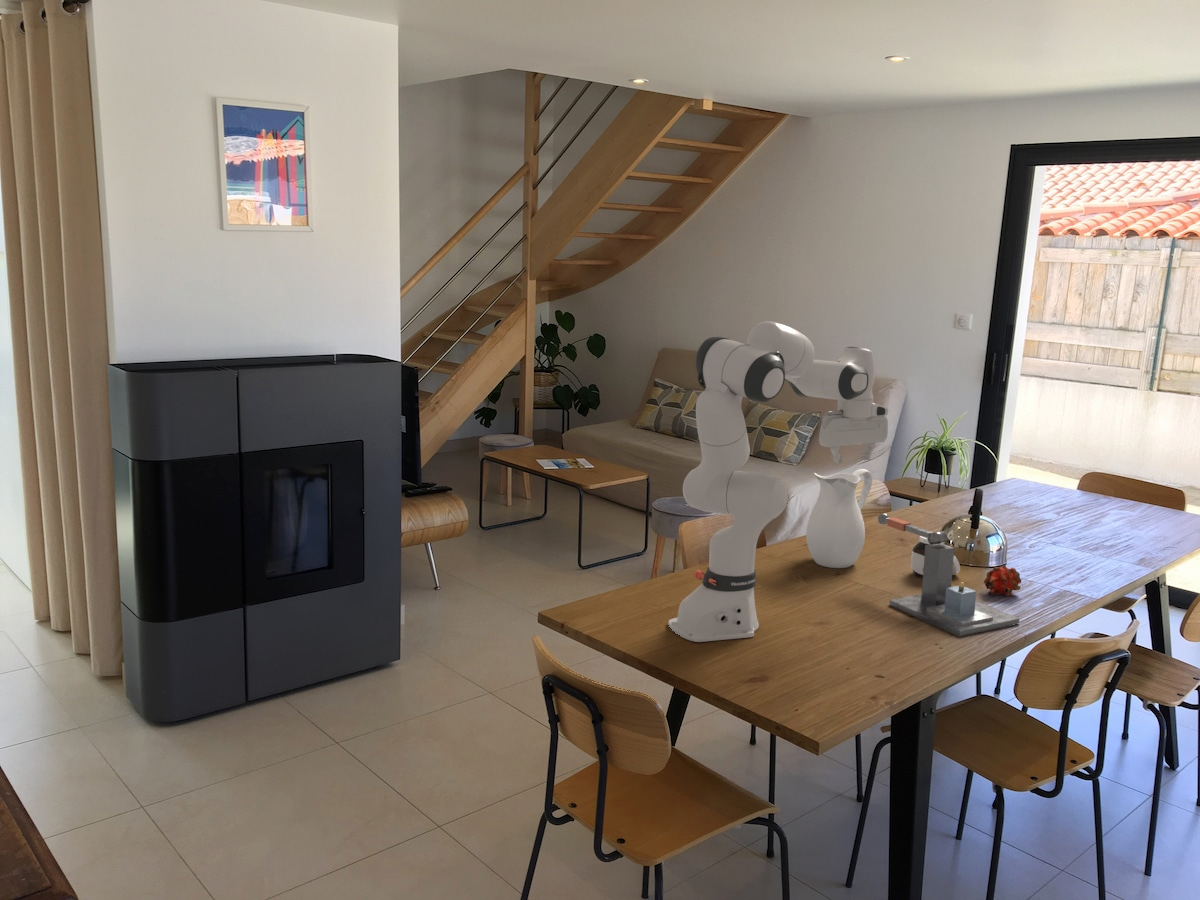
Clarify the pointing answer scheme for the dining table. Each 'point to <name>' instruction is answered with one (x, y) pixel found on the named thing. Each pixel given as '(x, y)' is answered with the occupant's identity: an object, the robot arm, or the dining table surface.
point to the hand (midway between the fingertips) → (851, 461)
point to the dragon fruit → (1002, 580)
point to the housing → (960, 600)
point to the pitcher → (838, 519)
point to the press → (933, 598)
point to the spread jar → (919, 555)
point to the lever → (913, 529)
